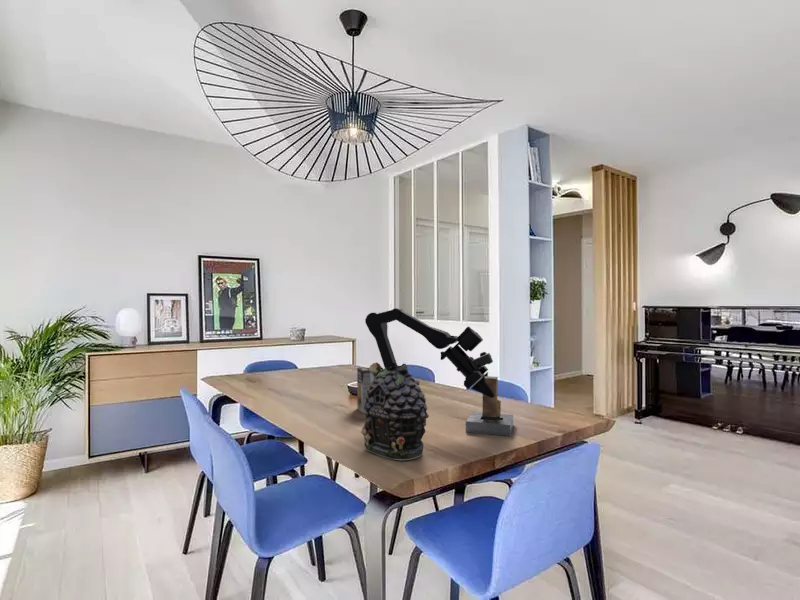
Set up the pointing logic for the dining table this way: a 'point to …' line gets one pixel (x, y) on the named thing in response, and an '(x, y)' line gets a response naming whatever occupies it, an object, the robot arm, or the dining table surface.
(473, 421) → the hub block
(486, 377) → the keyed plug
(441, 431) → the dining table surface
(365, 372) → the coffee box
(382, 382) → the decorative house
